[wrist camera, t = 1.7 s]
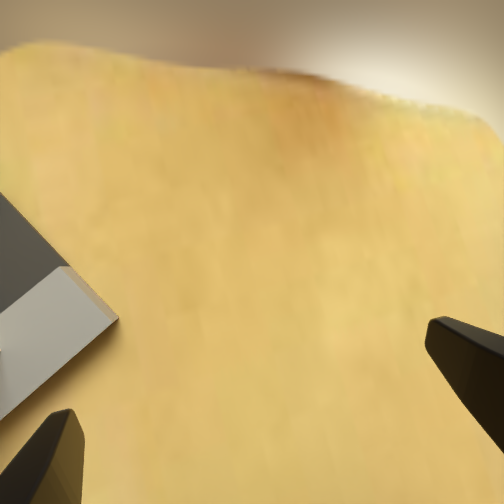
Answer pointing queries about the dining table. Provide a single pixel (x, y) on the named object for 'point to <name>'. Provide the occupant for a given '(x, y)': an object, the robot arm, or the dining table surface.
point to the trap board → (39, 310)
